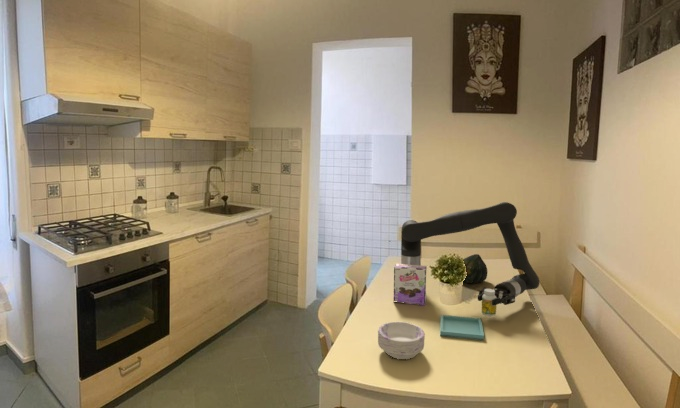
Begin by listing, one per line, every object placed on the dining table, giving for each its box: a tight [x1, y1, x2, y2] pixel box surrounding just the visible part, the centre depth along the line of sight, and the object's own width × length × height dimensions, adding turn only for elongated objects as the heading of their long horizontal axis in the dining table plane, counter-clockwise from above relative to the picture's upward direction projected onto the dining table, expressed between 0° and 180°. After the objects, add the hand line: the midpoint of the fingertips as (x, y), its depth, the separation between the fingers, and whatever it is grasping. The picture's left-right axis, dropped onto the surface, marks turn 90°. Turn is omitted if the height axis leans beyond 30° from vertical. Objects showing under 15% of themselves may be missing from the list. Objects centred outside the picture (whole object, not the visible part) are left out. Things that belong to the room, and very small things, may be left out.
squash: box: [462, 253, 488, 284], centre depth 205 cm, size 14×15×15 cm
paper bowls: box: [377, 320, 426, 360], centre depth 135 cm, size 15×15×8 cm
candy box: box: [393, 263, 428, 306], centre depth 179 cm, size 14×6×16 cm, turn 74°
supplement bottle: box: [481, 288, 497, 317], centre depth 160 cm, size 5×5×10 cm
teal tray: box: [439, 314, 485, 341], centre depth 153 cm, size 15×15×2 cm
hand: (485, 300), depth 158 cm, fingers closed on supplement bottle, 5 cm apart
